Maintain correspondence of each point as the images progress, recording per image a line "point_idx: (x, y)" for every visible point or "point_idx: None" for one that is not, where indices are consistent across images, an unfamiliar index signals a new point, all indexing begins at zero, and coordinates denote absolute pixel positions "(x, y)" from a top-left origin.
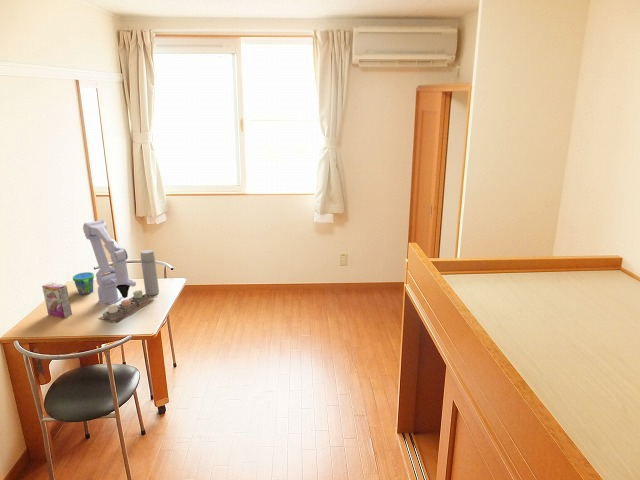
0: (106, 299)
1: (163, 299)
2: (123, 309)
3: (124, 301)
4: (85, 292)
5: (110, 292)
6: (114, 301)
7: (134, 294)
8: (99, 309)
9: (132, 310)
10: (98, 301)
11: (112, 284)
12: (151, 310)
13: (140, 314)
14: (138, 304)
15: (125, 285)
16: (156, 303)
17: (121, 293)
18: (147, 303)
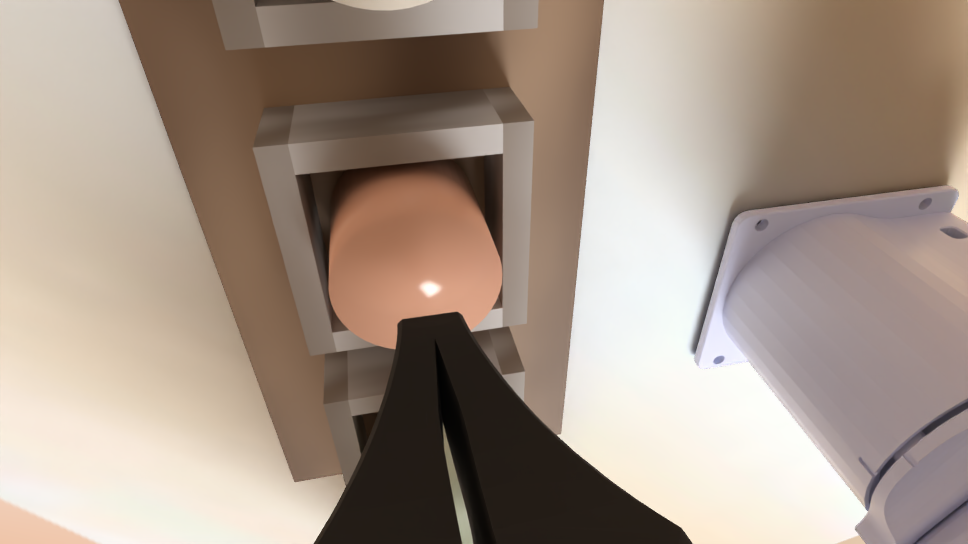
0: (855, 239)
1: (221, 532)
2: (352, 118)
3: (438, 271)
4: None
5: (865, 350)
6: (735, 272)
7: (449, 472)
8: (836, 15)
9: (263, 201)
10: (949, 187)
11: (932, 499)
12: (15, 332)
13: (6, 168)
14: (347, 352)
15: None
16: (191, 460)
17: (476, 387)
18: (277, 416)
